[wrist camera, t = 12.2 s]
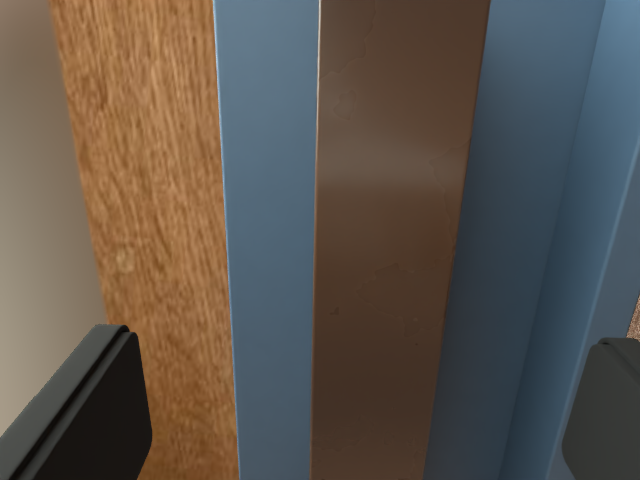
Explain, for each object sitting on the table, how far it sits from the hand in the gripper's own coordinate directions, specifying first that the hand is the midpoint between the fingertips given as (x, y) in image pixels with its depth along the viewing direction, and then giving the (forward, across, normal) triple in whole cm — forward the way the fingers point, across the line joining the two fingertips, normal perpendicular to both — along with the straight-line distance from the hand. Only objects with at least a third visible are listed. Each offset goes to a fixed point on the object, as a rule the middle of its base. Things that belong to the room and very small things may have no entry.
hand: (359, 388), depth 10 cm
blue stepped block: (+14, -2, +1) cm, 14 cm away
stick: (+4, 0, 0) cm, 4 cm away
